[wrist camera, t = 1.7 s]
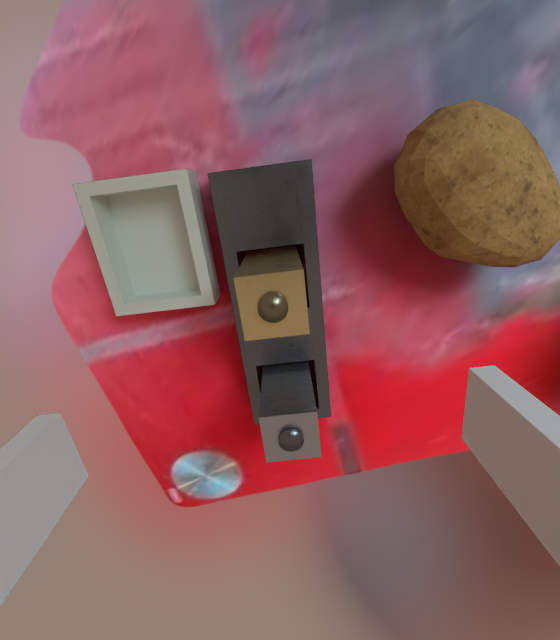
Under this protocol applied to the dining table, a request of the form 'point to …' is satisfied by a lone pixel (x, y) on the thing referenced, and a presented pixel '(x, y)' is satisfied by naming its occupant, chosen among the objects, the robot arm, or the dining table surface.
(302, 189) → the rail
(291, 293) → the block with metal knob
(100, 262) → the parts tray
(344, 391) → the dining table surface
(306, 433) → the square rod with stud
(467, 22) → the dining table surface
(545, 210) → the potato
